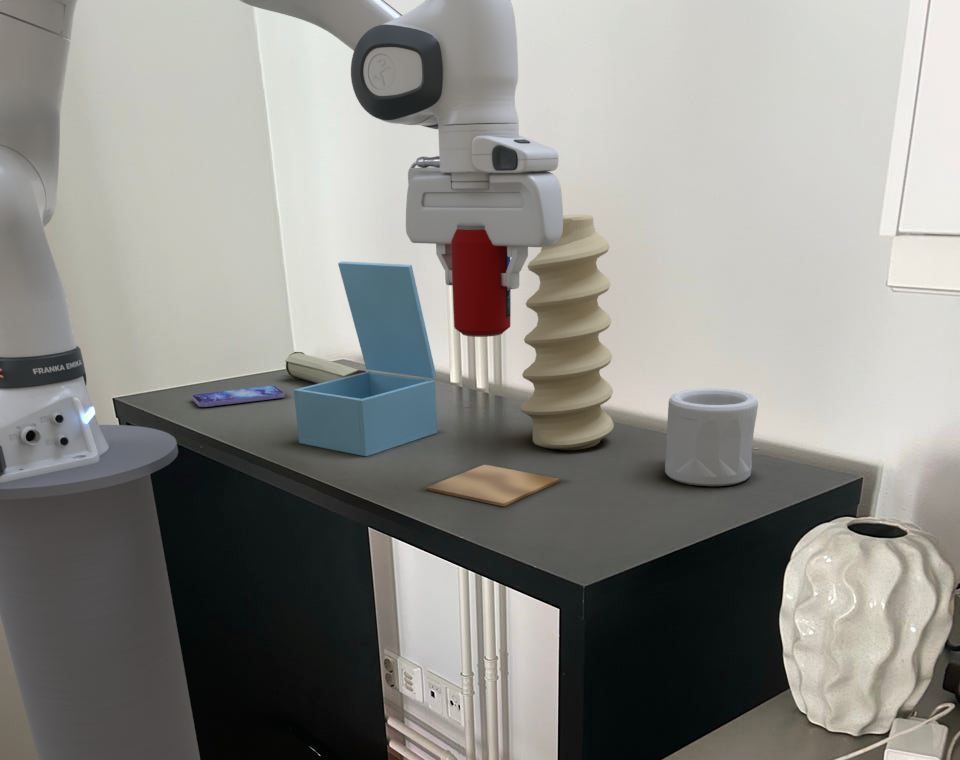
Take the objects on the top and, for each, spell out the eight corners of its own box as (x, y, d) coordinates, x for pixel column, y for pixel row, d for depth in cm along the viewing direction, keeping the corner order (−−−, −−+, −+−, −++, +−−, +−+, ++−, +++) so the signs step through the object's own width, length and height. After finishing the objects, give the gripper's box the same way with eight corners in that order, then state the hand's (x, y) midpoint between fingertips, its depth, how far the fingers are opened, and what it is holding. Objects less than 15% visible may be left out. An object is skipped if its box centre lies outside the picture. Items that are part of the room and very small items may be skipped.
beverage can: (522, 332, 118) (522, 223, 112) (482, 340, 114) (479, 227, 108) (482, 327, 122) (480, 221, 117) (442, 334, 118) (438, 225, 113)
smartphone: (285, 393, 173) (199, 403, 168) (286, 398, 174) (200, 409, 168) (274, 384, 179) (190, 394, 174) (274, 389, 180) (191, 399, 174)
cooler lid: (408, 266, 136) (411, 264, 136) (337, 263, 143) (341, 261, 144) (433, 378, 146) (436, 376, 146) (366, 369, 153) (369, 367, 154)
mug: (769, 478, 125) (777, 398, 120) (703, 493, 120) (709, 410, 116) (697, 454, 135) (702, 380, 131) (634, 467, 131) (637, 390, 126)
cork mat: (503, 506, 117) (503, 503, 117) (426, 490, 124) (426, 486, 124) (559, 481, 126) (559, 478, 125) (484, 467, 132) (484, 464, 132)
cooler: (366, 456, 139) (361, 400, 135) (299, 443, 146) (293, 389, 143) (437, 432, 150) (435, 380, 146) (371, 421, 157) (368, 371, 154)
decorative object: (632, 443, 141) (642, 214, 128) (556, 458, 135) (558, 220, 122) (576, 425, 151) (579, 212, 138) (503, 438, 145) (499, 216, 132)
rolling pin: (385, 401, 170) (383, 371, 168) (356, 405, 167) (354, 375, 165) (304, 373, 194) (301, 347, 192) (277, 377, 191) (274, 350, 189)
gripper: (390, 157, 113) (397, 285, 119) (538, 153, 102) (538, 294, 108) (425, 156, 117) (431, 279, 124) (571, 152, 106) (569, 288, 112)
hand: (482, 286), depth 116 cm, fingers closed on beverage can, 7 cm apart
